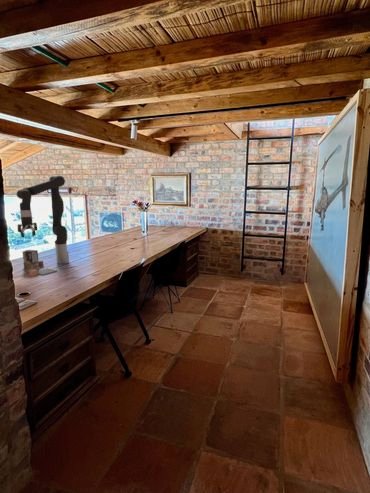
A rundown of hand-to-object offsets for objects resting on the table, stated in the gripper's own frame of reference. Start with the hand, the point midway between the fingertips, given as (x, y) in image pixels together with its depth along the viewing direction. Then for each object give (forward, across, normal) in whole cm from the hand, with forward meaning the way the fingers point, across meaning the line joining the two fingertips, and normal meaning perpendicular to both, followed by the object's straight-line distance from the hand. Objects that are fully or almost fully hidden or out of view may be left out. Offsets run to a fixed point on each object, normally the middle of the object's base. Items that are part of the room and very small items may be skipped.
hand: (28, 236), depth 219 cm
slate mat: (+28, -2, +14) cm, 31 cm away
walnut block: (+28, -9, -5) cm, 29 cm away
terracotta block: (+28, +7, +13) cm, 31 cm away
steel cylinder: (+28, -1, -9) cm, 29 cm away
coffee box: (+28, 0, 0) cm, 28 cm away
